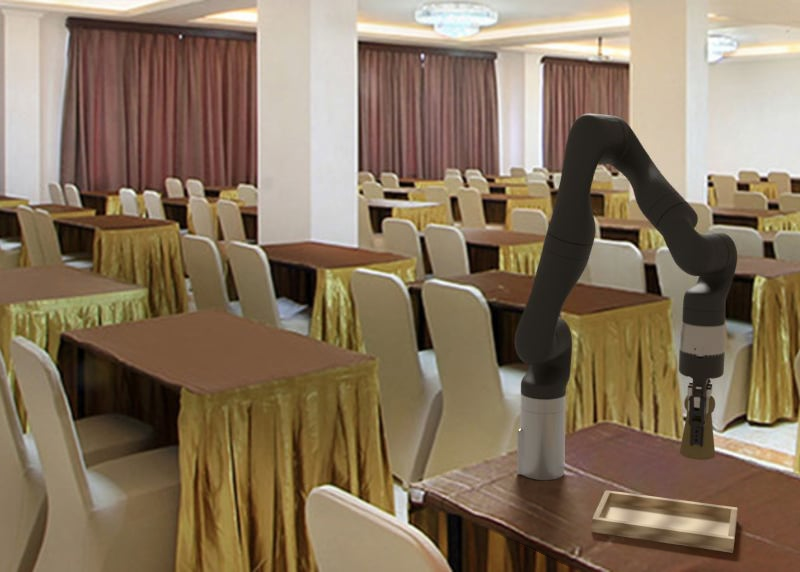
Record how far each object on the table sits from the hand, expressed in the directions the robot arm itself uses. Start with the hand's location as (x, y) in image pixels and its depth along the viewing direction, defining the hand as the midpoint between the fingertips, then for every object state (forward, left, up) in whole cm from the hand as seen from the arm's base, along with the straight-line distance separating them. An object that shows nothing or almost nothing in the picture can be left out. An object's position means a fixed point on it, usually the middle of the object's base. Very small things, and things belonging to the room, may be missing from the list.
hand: (697, 441), depth 169 cm
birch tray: (-5, 0, -17) cm, 17 cm away
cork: (0, 0, -2) cm, 2 cm away
